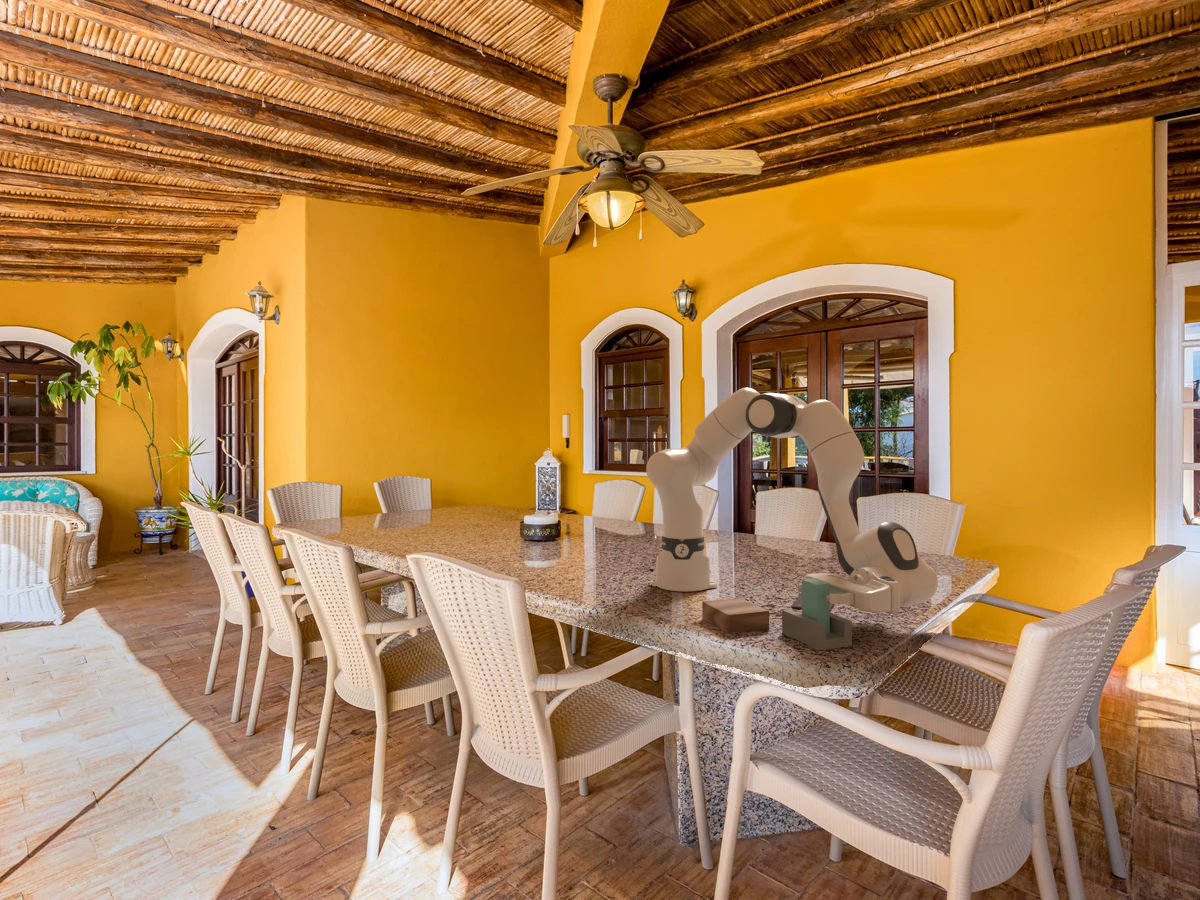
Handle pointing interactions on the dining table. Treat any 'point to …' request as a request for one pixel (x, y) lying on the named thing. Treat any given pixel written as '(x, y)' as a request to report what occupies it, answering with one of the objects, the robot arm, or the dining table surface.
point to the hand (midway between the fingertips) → (813, 593)
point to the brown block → (735, 615)
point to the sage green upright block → (816, 601)
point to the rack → (817, 630)
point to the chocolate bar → (798, 603)
